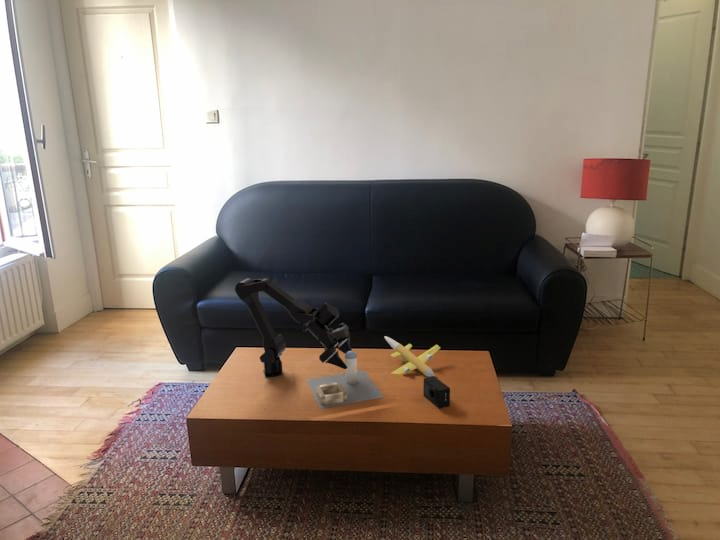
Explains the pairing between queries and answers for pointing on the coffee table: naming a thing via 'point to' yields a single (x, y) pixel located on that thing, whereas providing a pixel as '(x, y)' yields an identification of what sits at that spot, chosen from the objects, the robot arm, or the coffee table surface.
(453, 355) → the coffee table surface
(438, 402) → the digital camera
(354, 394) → the jig board
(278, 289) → the robot arm
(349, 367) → the blue-domed white cylinder
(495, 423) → the coffee table surface
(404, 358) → the toy airplane
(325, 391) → the cradle
